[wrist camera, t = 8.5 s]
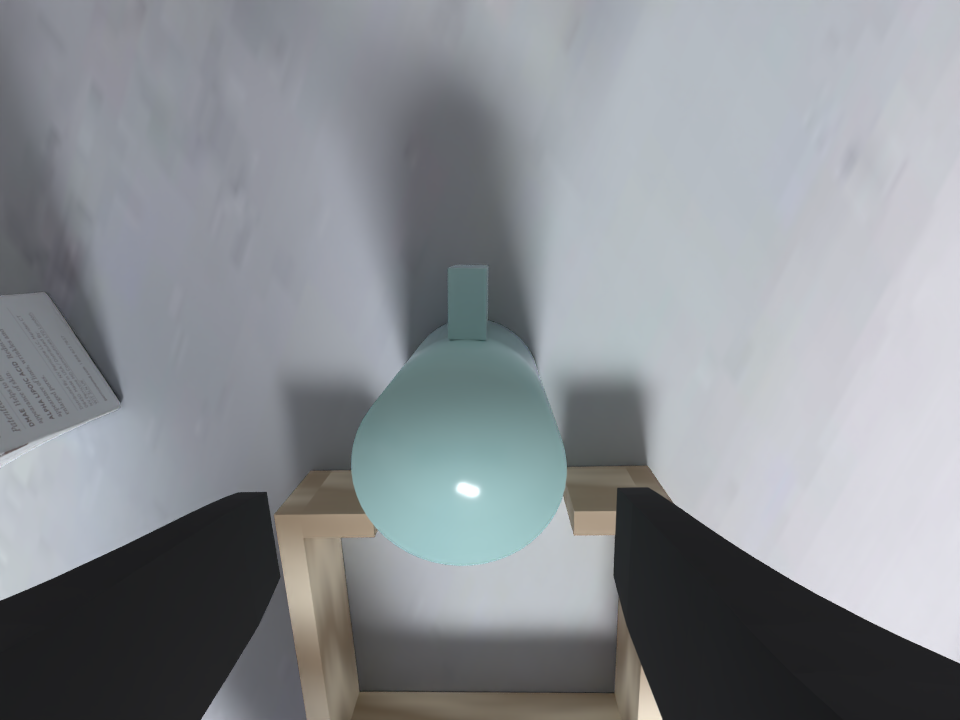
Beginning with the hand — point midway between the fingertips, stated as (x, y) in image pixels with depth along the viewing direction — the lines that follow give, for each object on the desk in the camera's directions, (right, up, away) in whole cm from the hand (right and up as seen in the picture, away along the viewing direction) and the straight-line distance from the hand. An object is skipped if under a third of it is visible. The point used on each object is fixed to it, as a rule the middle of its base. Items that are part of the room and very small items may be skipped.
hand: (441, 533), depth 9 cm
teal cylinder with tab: (+1, +4, +10) cm, 10 cm away
